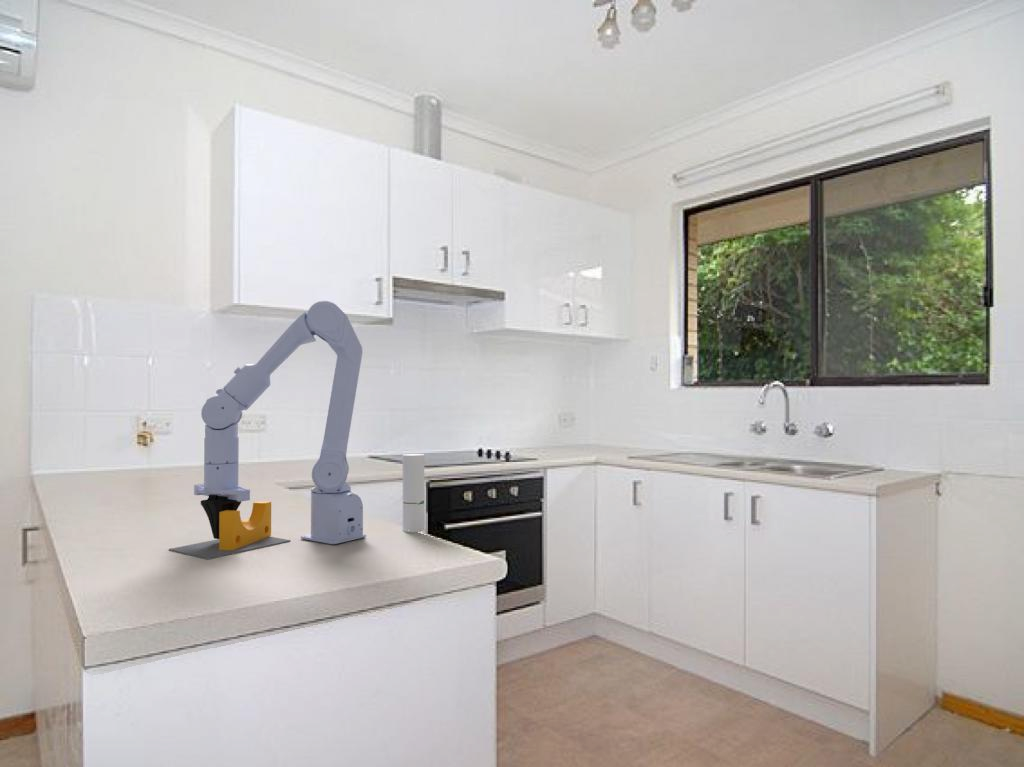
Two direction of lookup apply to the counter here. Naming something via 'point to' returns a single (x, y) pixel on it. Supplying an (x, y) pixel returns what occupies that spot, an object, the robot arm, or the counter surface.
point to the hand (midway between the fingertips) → (220, 537)
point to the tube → (413, 492)
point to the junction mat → (212, 550)
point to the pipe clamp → (244, 526)
